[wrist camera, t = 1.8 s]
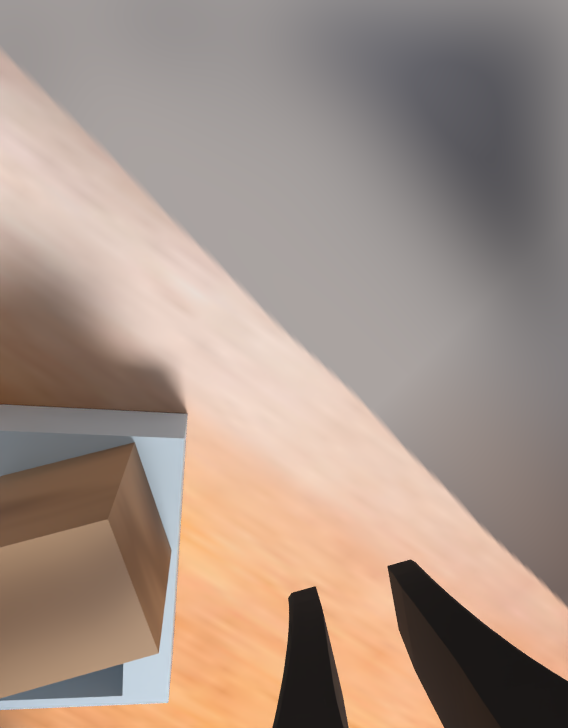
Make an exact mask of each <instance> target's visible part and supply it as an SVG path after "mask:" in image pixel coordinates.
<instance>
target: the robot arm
mask: <svg viewBox="0 0 568 728" xmlns="http://www.w3.org/2000/svg"><path fill="white" fill-rule="evenodd" d="M388 572H389V577H390V583H391V589H392V594H393V600H394V605H395V611H396V617H397V622H398V628H399V631H400V634H401V636H402V639H403V641H404V644H405V647H406V649H407V652H408V654H409V657H410V659H411V662H412V664H413V667H414V669H415V671H416V673H417V675H418V677H419V679H420V681H421V683H422V685H423V687H424V689H425V691H426V693H427V695H428V697H429V699H430V701H431V703H432V705H433V707H434V709H435V711H436V713H437V715H438V716H439V718H440V720H441V722H442V724H443V726H444V728H568V681H567V680H565V679H563V678H562V677H560V676H558V675H557V674H555V673H553V672H552V671H550V670H549V669H547V668H546V667H544V666H543V665H541V664H540V663H538V662H536V661H535V660H533V659H532V658H530V657H529V656H528V655H526V654H525V653H523V652H522V651H520V650H519V649H517V648H516V647H515V646H513V645H512V644H510V643H509V642H508V641H506V640H505V639H504V638H502V637H501V636H500V635H498V634H497V633H496V632H494V631H493V630H492V629H490V628H489V627H488V626H487V625H485V624H484V623H483V622H481V621H480V620H479V619H478V618H477V617H475V616H474V615H473V614H472V613H470V612H469V611H468V610H467V609H466V608H464V607H463V606H462V605H461V604H460V603H458V602H457V601H456V600H455V599H454V598H453V597H452V596H450V595H449V594H448V593H447V592H446V591H445V590H444V589H443V588H442V587H440V586H439V585H438V584H437V583H436V582H435V581H434V580H433V579H432V578H431V577H430V576H429V575H428V574H427V573H426V572H425V571H424V570H423V569H422V568H421V567H420V566H419V565H418V564H417V563H416V562H414V561H412V560H407V561H404V562H400V563H397V564H393V565H390V566H388ZM288 600H289V632H288V644H287V651H286V659H285V667H284V674H283V680H282V685H281V690H280V695H279V700H278V705H277V710H276V715H275V719H274V723H273V728H348V722H347V717H346V711H345V705H344V700H343V695H342V690H341V686H340V682H339V677H338V673H337V669H336V665H335V660H334V656H333V652H332V648H331V644H330V639H329V635H328V631H327V627H326V622H325V618H324V614H323V610H322V606H321V603H320V599H319V596H318V593H317V589H316V586H315V587H311V588H308V589H304V590H301V591H297V592H293V593H291V595H290V596H289V598H288Z"/></svg>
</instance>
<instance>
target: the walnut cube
mask: <svg viewBox="0 0 568 728" xmlns="http://www.w3.org/2000/svg"><path fill="white" fill-rule="evenodd" d="M171 551H172V550H171V547H170V544H169V541H168V538H167V535H166V532H165V530H164V527H163V524H162V521H161V518H160V515H159V512H158V509H157V506H156V503H155V500H154V497H153V494H152V491H151V488H150V485H149V483H148V480H147V477H146V474H145V471H144V468H143V465H142V462H141V459H140V456H139V453H138V450H137V447H136V444H135V442H133V443H130V444H126V445H122V446H118V447H114V448H110V449H106V450H102V451H98V452H94V453H90V454H86V455H82V456H78V457H74V458H70V459H66V460H62V461H58V462H54V463H50V464H47V465H43V466H39V467H35V468H31V469H27V470H23V471H19V472H15V473H11V474H7V475H3V476H0V698H3V697H7V696H11V695H14V694H18V693H21V692H25V691H28V690H32V689H35V688H39V687H42V686H46V685H49V684H53V683H56V682H60V681H63V680H67V679H70V678H74V677H77V676H81V675H84V674H88V673H92V672H95V671H99V670H102V669H106V668H109V667H113V666H116V665H120V664H123V663H127V662H130V661H134V660H137V659H141V658H144V657H148V656H151V655H155V654H158V653H159V648H160V640H161V632H162V624H163V616H164V608H165V600H166V592H167V584H168V576H169V568H170V559H171Z"/></svg>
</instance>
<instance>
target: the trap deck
mask: <svg viewBox="0 0 568 728" xmlns="http://www.w3.org/2000/svg"><path fill="white" fill-rule="evenodd" d="M187 415H188V414H181V413H162V412H142V411H122V410H103V409H83V408H63V407H43V406H24V405H4V404H0V476H3V475H7V474H11V473H15V472H19V471H23V470H27V469H31V468H35V467H39V466H43V465H47V464H50V463H54V462H58V461H62V460H66V459H70V458H74V457H78V456H82V455H86V454H90V453H94V452H98V451H102V450H106V449H110V448H114V447H118V446H122V445H126V444H130V443H133V442H135V444H136V447H137V450H138V453H139V456H140V459H141V462H142V465H143V468H144V471H145V474H146V477H147V480H148V483H149V485H150V488H151V491H152V494H153V497H154V500H155V503H156V506H157V509H158V512H159V515H160V518H161V521H162V524H163V527H164V530H165V532H166V535H167V538H168V541H169V544H170V547H171V550H172V551H171V559H170V568H169V576H168V584H167V592H166V600H165V608H164V616H163V624H162V632H161V640H160V648H159V653H158V654H155V655H151V656H148V657H144V658H141V659H137V660H134V661H130V662H127V663H123V664H120V665H116V666H113V667H109V668H106V669H102V670H99V671H95V672H92V673H88V674H84V675H81V676H77V677H74V678H70V679H67V680H63V681H60V682H56V683H53V684H49V685H46V686H42V687H39V688H35V689H32V690H28V691H25V692H21V693H18V694H14V695H11V696H7V697H3V698H0V710H9V709H33V708H56V707H80V706H103V705H127V704H150V703H168V700H169V689H170V678H171V667H172V656H173V640H174V624H175V608H176V592H177V576H178V560H179V544H180V528H181V512H182V495H183V479H184V463H185V447H186V431H187Z"/></svg>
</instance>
